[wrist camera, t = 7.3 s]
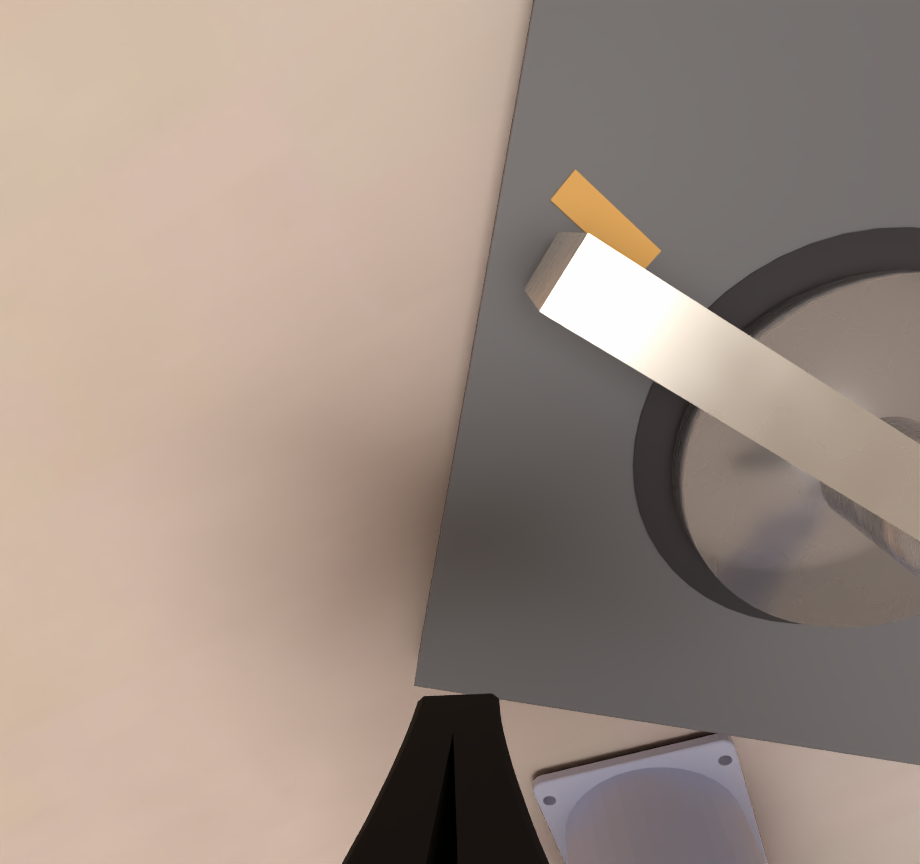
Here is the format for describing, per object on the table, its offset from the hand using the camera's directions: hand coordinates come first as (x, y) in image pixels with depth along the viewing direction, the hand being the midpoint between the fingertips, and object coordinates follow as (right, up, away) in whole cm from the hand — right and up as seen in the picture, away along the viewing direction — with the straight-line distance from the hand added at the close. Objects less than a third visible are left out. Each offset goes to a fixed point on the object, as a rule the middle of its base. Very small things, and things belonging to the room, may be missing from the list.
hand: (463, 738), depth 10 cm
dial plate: (+11, +5, +7) cm, 14 cm away
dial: (+9, +6, +5) cm, 12 cm away
